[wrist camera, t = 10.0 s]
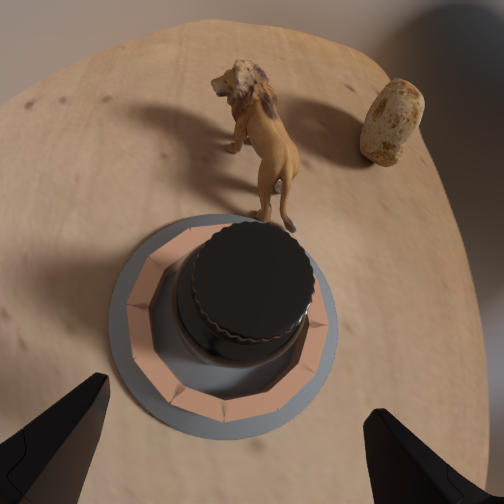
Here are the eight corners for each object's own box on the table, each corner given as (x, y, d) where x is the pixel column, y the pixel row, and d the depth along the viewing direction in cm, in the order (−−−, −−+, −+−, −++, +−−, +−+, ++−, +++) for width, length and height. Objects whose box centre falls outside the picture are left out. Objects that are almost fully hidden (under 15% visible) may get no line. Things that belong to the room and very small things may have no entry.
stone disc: (358, 115, 36) (393, 60, 27) (382, 127, 36) (420, 76, 27) (352, 170, 32) (399, 108, 23) (380, 184, 32) (431, 128, 23)
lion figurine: (200, 125, 30) (208, 55, 22) (245, 115, 32) (263, 49, 23) (268, 245, 26) (304, 187, 18) (317, 224, 28) (364, 168, 20)
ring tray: (298, 461, 20) (310, 469, 17) (77, 383, 19) (65, 384, 16) (353, 262, 27) (367, 252, 25) (166, 188, 26) (165, 171, 24)
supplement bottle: (172, 282, 23) (162, 198, 12) (260, 275, 24) (320, 194, 13) (182, 373, 20) (174, 378, 10) (274, 362, 22) (356, 349, 11)
